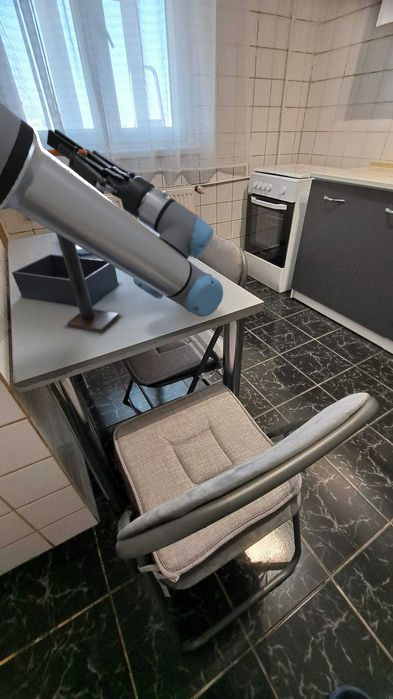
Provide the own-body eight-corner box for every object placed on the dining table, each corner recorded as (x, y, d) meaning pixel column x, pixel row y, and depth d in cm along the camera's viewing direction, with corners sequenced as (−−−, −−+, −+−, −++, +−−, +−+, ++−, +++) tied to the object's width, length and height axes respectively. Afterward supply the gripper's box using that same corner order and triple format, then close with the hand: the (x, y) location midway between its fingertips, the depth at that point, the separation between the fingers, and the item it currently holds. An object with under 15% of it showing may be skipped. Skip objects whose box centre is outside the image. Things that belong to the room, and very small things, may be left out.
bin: (21, 296, 87) (11, 272, 83) (57, 276, 99) (50, 254, 94) (88, 307, 81) (81, 282, 76) (118, 284, 92) (113, 261, 88)
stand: (67, 326, 73) (22, 193, 55) (87, 311, 79) (51, 186, 61) (102, 332, 71) (65, 194, 53) (119, 316, 77) (92, 187, 59)
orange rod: (11, 156, 66) (9, 150, 65) (15, 156, 67) (13, 149, 66) (85, 156, 60) (84, 149, 60) (89, 156, 61) (87, 149, 61)
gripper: (167, 181, 65) (76, 117, 64) (136, 192, 55) (27, 115, 53) (155, 211, 70) (71, 153, 69) (124, 227, 60) (24, 158, 58)
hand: (52, 136), depth 61 cm, fingers closed on orange rod
